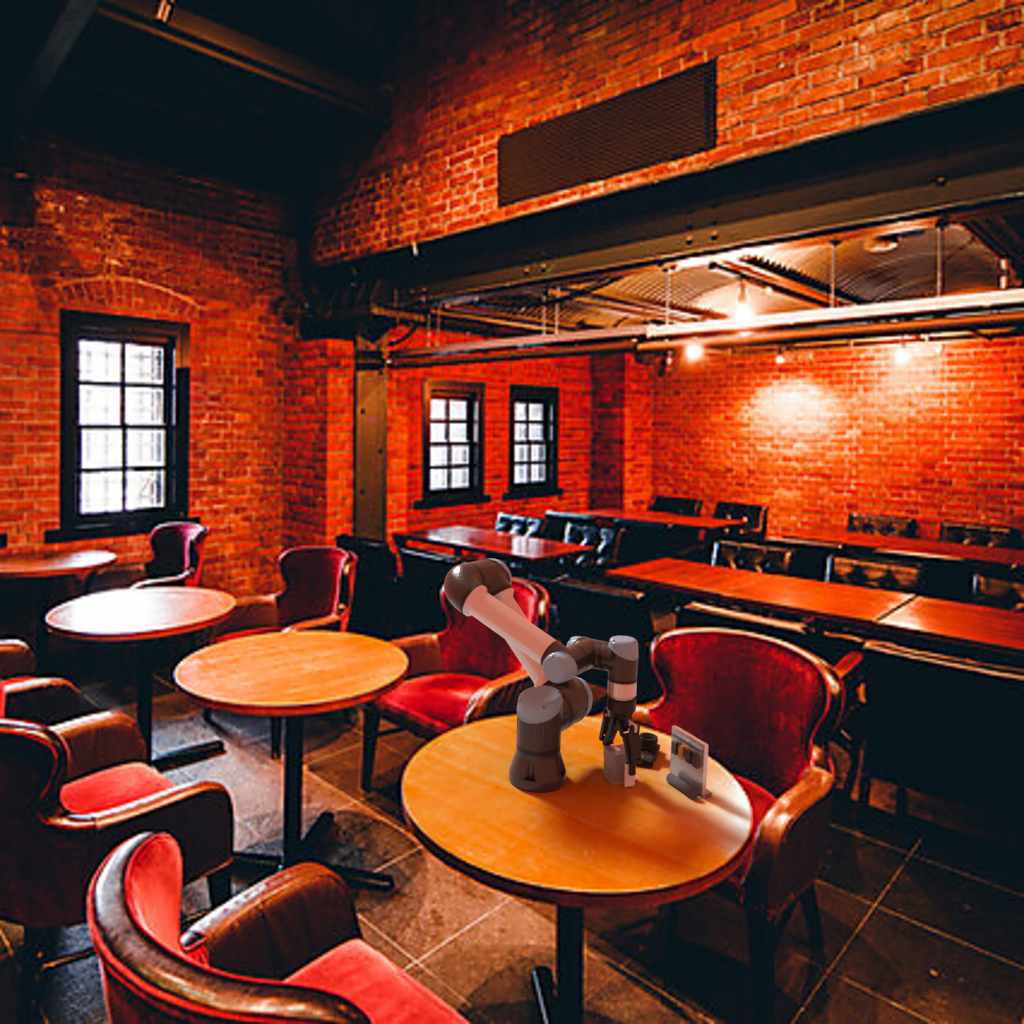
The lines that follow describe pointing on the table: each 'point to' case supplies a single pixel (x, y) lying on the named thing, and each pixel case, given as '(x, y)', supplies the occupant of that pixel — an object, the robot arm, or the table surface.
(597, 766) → the table surface
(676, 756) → the breaker panel
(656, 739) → the film camera
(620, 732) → the robot arm
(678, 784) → the gray cylinder
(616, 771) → the grey tall block
